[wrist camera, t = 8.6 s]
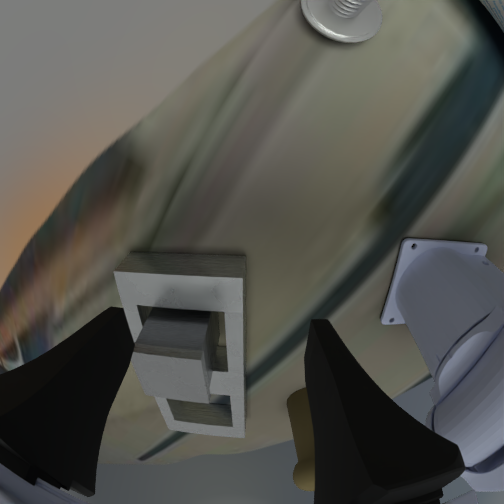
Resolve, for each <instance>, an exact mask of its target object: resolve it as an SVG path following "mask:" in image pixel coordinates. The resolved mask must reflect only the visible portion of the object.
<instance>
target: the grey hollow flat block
mask: <svg viewBox="0 0 504 504" xmlns="http://www.w3.org/2000/svg"><path fill="white" fill-rule="evenodd" d="M114 275H115V279H116V283H117V287H118V291H119V295H120V298H121V302H122V305H123V308H124V312H125V315H126V318H127V322H128V325H129V328H130V331H131V334H132V337H133V340H134V343H135V342H136V340H137V338H138V336H139V334H140V332H141V330H142V328H143V326H144V324H145V322H146V320H147V318H148V316H149V314H150V312H151V310H152V308H153V307H164V308H176V309H189V310H203V311H219V312H224V313H225V330H226V345H227V347H222V346H218V347H217V352H216V357H215V362H214V368H213V373H212V378H211V383H210V394H218V395H230V399H231V405H221V404H210V403H209V404H207V403H198V402H189V401H181V400H174V399H168V398H161V397H155V396H154V397H155V399H156V401H157V404H158V406H159V408H160V411H161V413H162V415H163V417H164V419H165V422H166V424H167V426H168V428H169V429H170V430H176V431H183V432H189V433H197V434H205V435H214V436H224V437H237V438H245V429H246V256H236V255H206V254H177V253H149V252H130V253H129V254H128V255H127V256H126V257H125V258H124V260H123V261H122V262H121V263H120V264H119V265H118V267H117V268H116V269H115V270H114Z"/></svg>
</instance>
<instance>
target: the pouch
mask: <svg viewBox="0 0 504 504" xmlns="http://www.w3.org/2000/svg"><path fill="white" fill-rule="evenodd" d="M480 2H481V3H482V4H483V5H484V6H485V7H486V9H487V10H488V11H489V12H490V14H491V15H492V16H493V18H494V19H495V20H496V22H497V23H498V25H499V26H500V28H501V29H502V31H503V32H504V0H480Z"/></svg>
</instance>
